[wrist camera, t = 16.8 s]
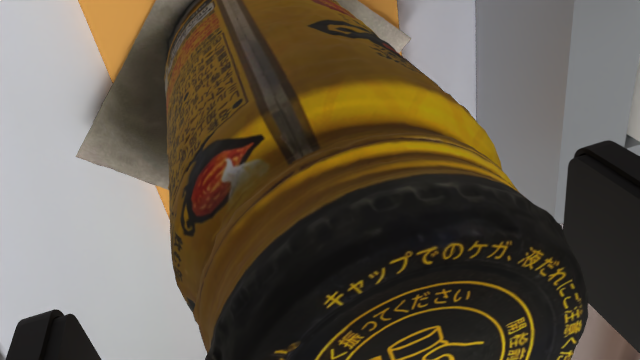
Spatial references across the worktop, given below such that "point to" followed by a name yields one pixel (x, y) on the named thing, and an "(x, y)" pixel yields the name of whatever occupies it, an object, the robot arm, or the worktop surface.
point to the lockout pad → (128, 18)
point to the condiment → (331, 192)
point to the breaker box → (554, 85)
